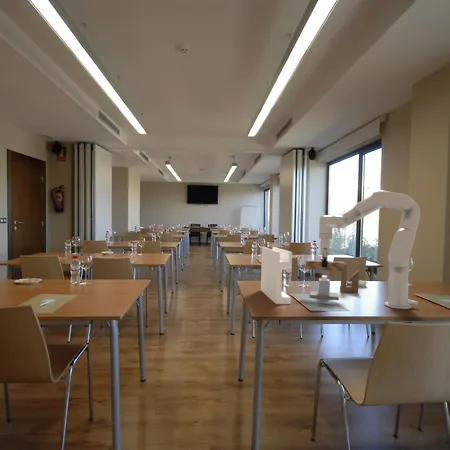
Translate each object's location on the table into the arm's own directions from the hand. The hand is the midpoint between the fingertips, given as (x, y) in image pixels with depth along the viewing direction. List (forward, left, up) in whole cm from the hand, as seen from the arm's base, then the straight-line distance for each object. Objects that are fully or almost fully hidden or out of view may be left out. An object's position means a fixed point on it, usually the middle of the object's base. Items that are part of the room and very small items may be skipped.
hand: (324, 266), depth 205 cm
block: (+28, +11, -18) cm, 35 cm away
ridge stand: (0, 0, -18) cm, 18 cm away
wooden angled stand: (-16, -19, -18) cm, 31 cm away
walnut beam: (0, 0, -2) cm, 2 cm away
